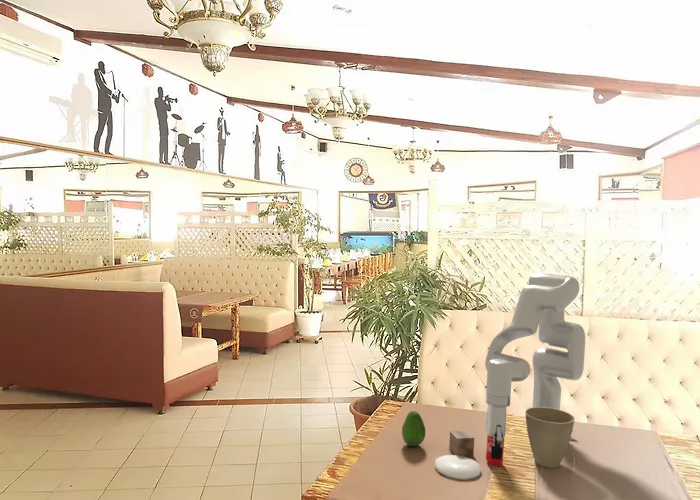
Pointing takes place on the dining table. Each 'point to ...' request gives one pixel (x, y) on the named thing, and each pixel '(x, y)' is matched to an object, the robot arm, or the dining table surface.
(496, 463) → the beverage can
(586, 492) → the dining table surface
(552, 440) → the plant pot
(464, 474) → the ceramic plate
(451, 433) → the walnut block
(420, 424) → the avocado
